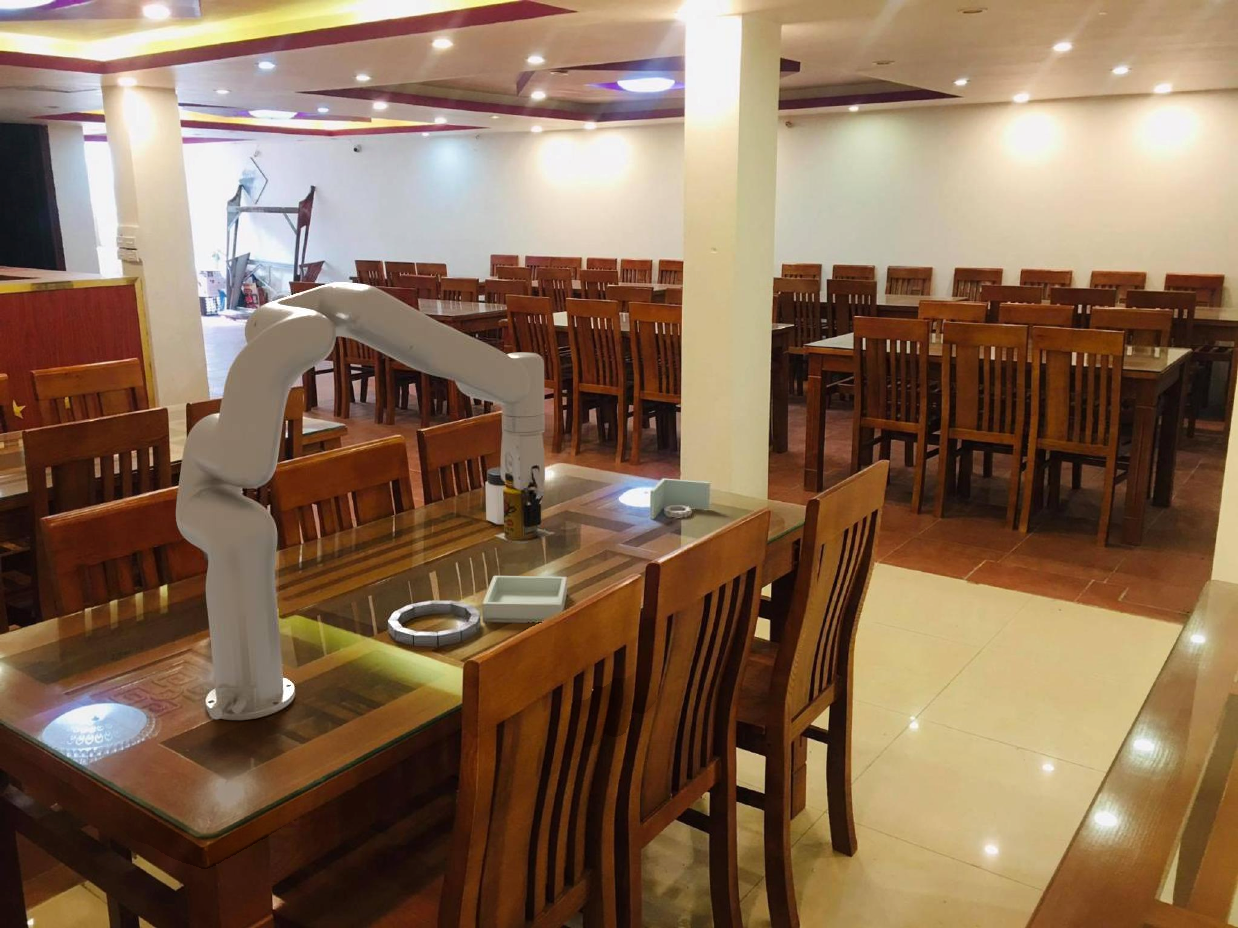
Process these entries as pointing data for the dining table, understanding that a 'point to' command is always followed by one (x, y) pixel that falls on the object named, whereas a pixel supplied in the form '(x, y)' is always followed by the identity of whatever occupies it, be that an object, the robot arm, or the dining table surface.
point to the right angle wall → (679, 497)
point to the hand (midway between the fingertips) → (524, 519)
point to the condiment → (517, 515)
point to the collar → (434, 637)
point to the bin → (524, 598)
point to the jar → (494, 496)
